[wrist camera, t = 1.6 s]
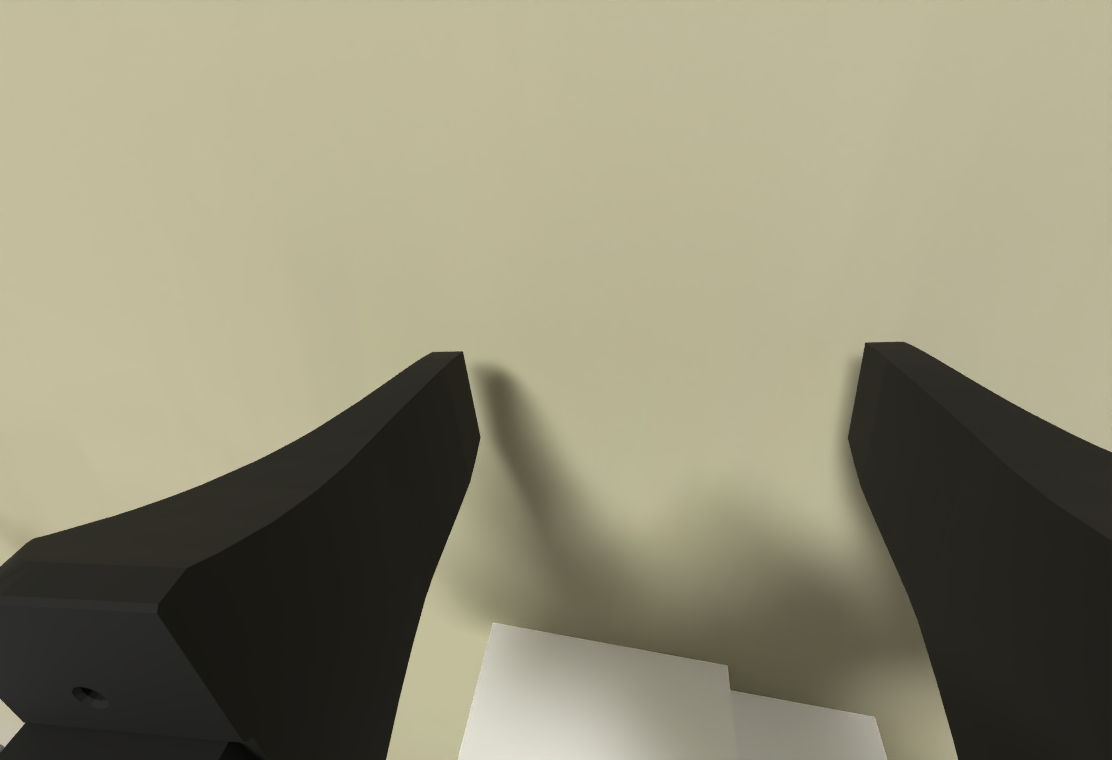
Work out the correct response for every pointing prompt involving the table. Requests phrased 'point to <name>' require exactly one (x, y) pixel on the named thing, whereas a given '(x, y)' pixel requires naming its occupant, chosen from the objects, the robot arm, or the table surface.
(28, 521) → the table surface
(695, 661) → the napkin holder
